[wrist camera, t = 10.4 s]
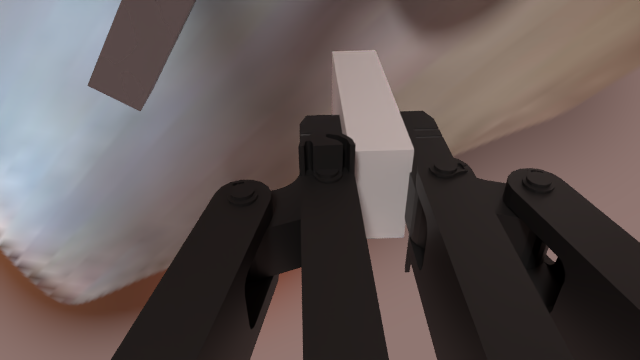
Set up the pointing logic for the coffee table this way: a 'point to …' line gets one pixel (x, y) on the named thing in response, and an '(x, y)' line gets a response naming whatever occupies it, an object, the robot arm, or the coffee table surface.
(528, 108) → the coffee table surface
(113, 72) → the bar
